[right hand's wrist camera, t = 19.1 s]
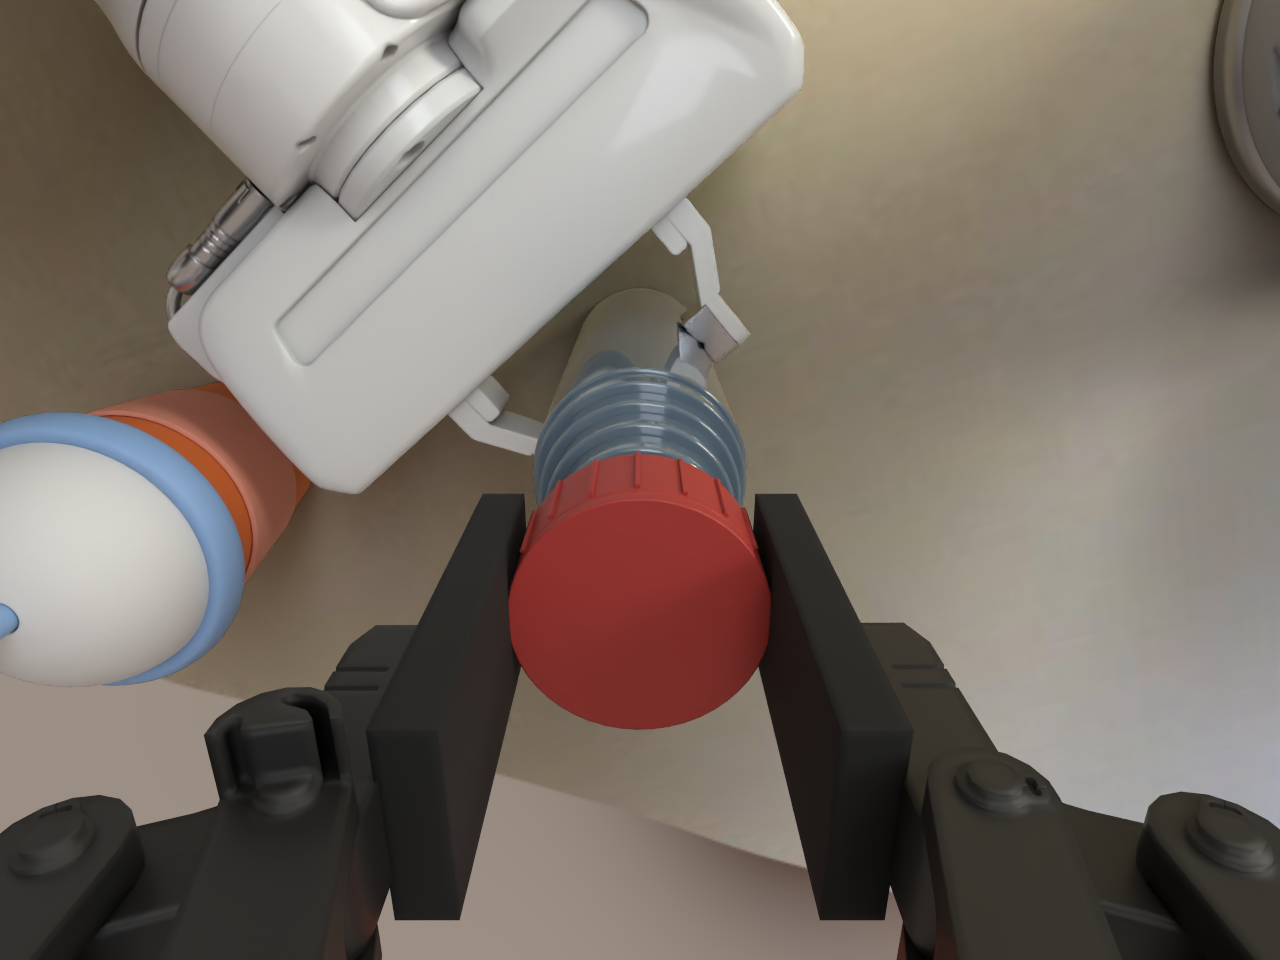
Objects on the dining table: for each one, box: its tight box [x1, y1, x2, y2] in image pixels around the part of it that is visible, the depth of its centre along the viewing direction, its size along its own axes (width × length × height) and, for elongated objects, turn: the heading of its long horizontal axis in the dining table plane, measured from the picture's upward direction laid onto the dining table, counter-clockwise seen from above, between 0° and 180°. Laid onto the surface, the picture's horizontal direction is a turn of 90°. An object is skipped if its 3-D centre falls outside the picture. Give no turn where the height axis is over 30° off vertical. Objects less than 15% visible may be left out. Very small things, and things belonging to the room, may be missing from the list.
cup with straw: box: [0, 382, 311, 687], centre depth 25 cm, size 9×9×18 cm
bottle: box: [534, 288, 746, 508], centre depth 23 cm, size 5×5×20 cm
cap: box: [508, 452, 771, 730], centre depth 14 cm, size 4×4×2 cm
